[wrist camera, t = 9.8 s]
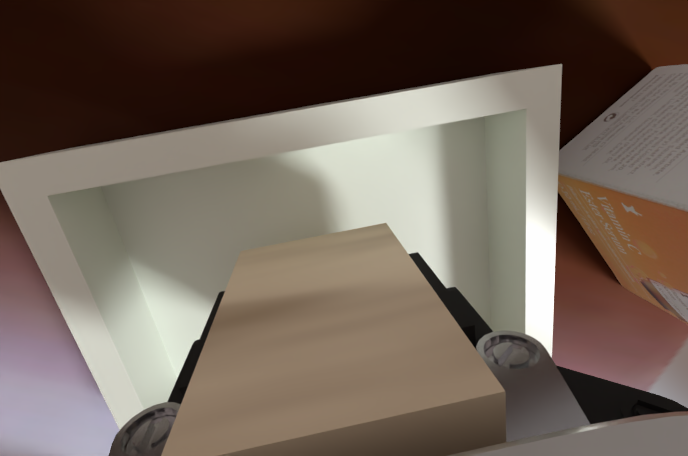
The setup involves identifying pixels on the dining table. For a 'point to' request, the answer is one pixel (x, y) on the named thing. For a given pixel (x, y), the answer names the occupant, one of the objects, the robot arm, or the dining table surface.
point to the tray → (293, 212)
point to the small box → (637, 187)
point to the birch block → (336, 359)
